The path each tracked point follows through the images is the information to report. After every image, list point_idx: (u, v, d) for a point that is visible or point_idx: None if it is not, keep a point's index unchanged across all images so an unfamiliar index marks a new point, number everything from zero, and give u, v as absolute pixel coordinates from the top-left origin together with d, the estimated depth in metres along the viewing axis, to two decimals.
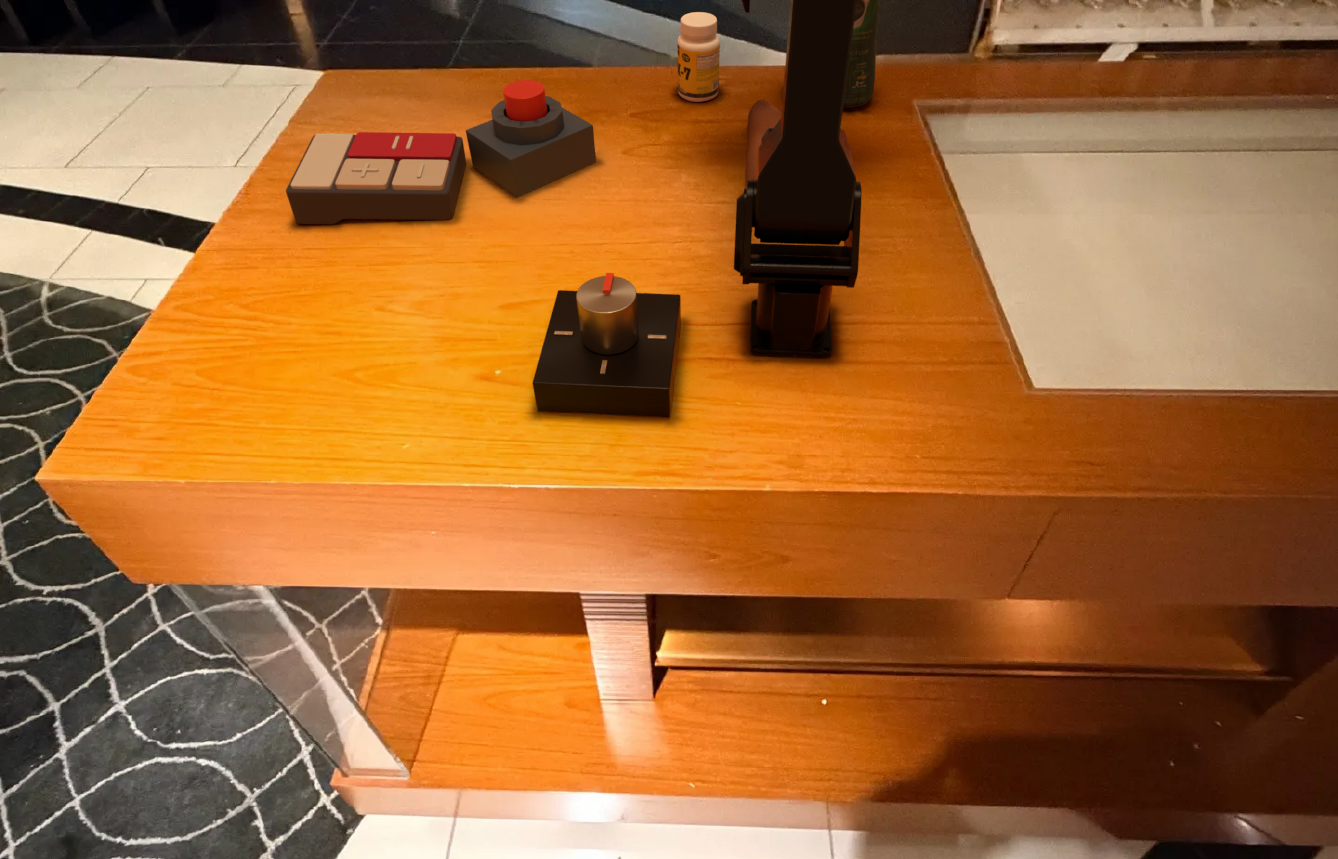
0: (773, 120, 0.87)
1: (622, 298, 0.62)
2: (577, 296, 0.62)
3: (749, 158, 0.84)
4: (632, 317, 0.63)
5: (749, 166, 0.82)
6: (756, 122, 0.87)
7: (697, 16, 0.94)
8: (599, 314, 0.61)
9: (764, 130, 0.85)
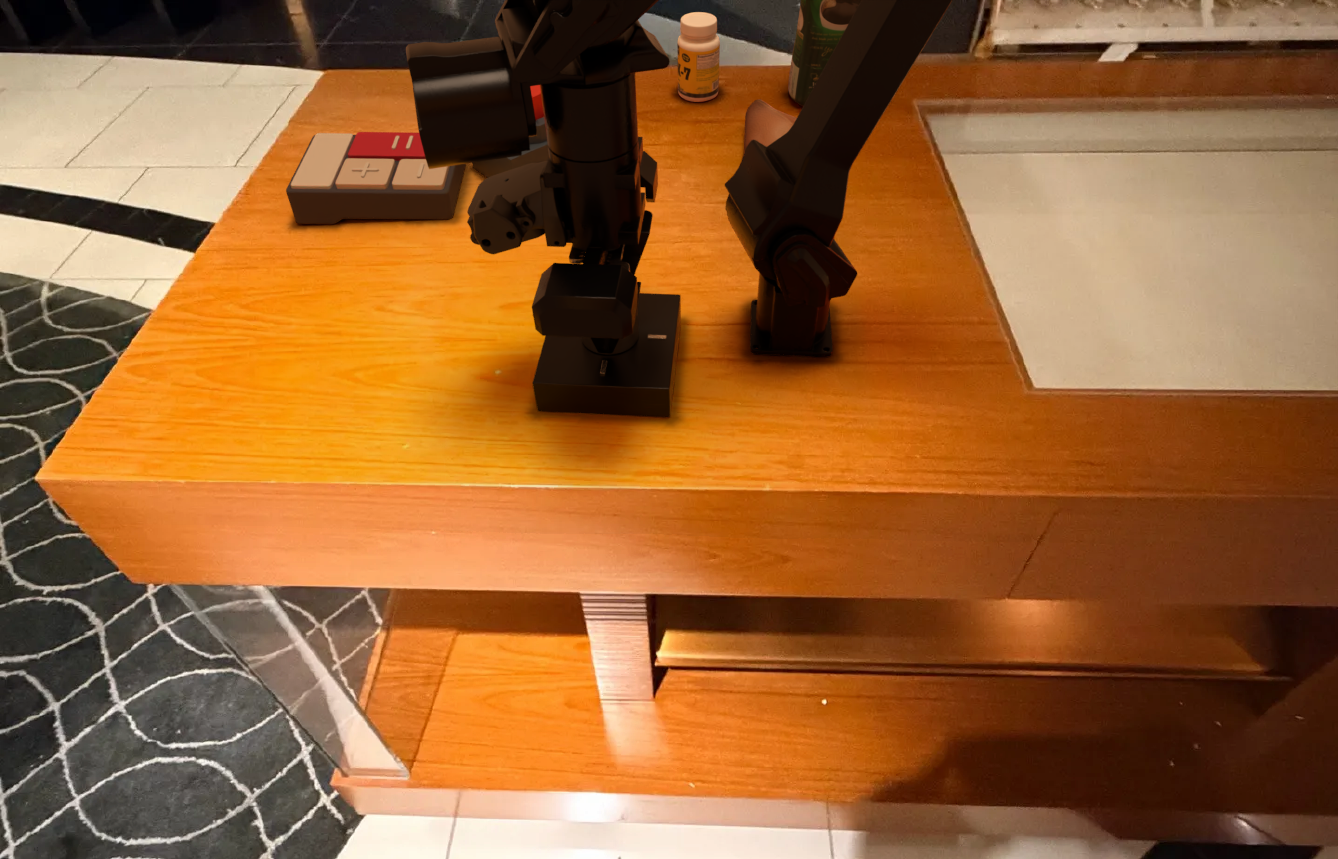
0: (771, 119, 0.87)
1: None
2: None
3: None
4: None
5: None
6: (753, 122, 0.87)
7: (697, 16, 0.94)
8: None
9: (762, 130, 0.85)
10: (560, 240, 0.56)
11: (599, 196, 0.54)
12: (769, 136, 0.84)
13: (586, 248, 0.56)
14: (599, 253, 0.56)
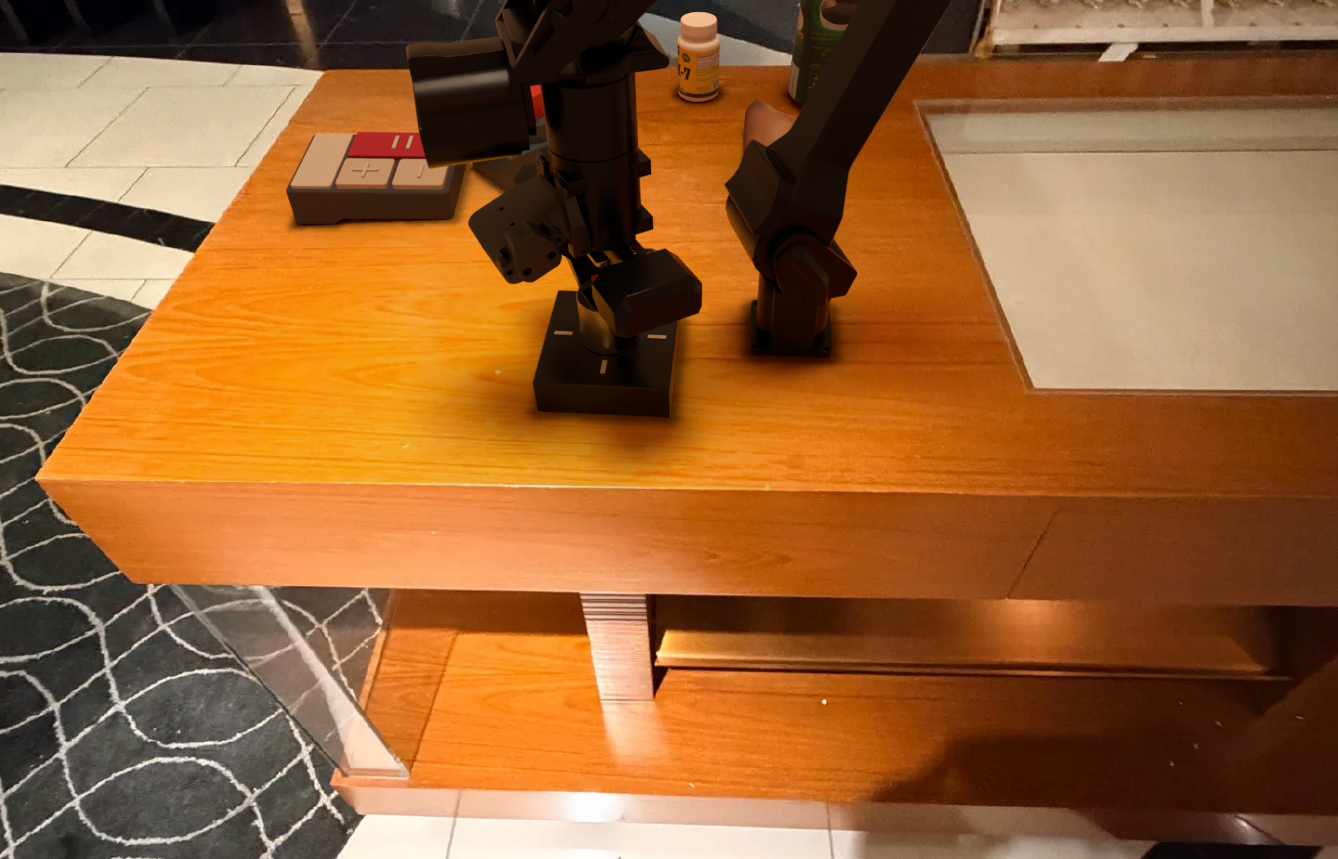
0: (770, 120, 0.87)
1: None
2: (582, 305, 0.62)
3: None
4: None
5: None
6: (753, 123, 0.87)
7: (697, 16, 0.94)
8: None
9: (761, 130, 0.85)
10: (587, 247, 0.55)
11: (622, 191, 0.54)
12: (768, 136, 0.84)
13: (611, 247, 0.56)
14: (627, 247, 0.56)
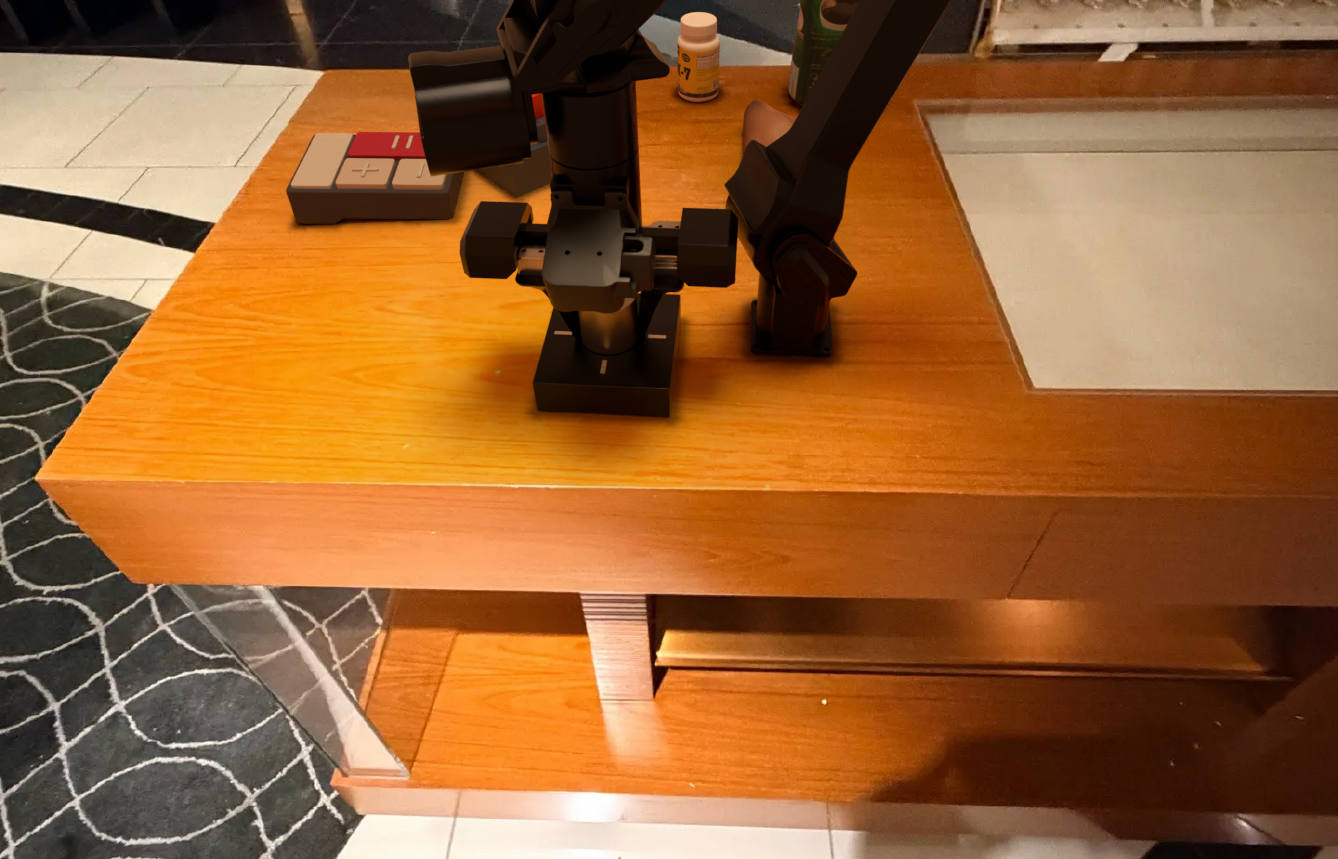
0: (769, 119, 0.87)
1: None
2: None
3: None
4: None
5: None
6: (752, 123, 0.87)
7: (697, 16, 0.94)
8: None
9: (760, 130, 0.85)
10: None
11: None
12: (767, 136, 0.84)
13: (642, 235, 0.58)
14: (651, 228, 0.59)
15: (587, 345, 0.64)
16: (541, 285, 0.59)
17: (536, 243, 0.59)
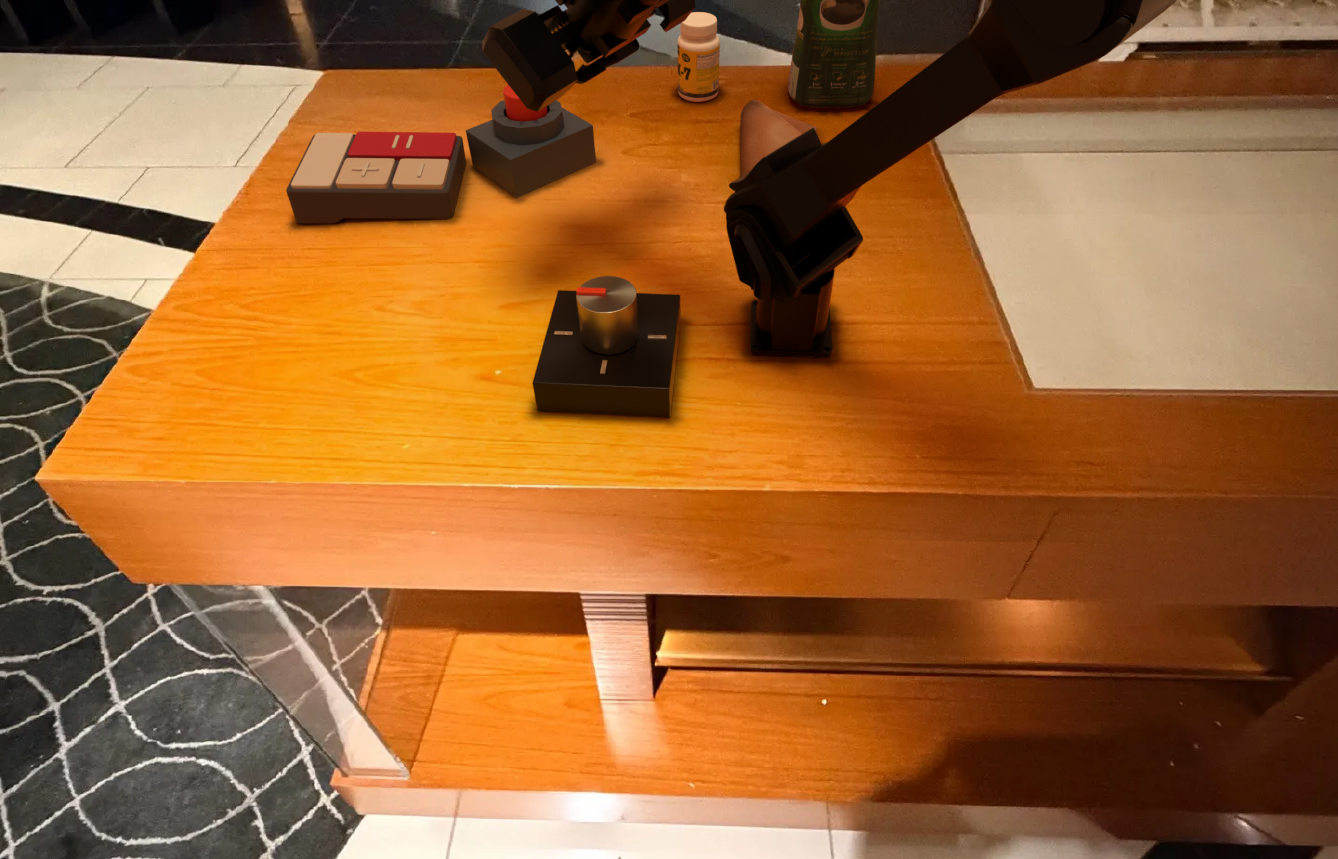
0: (767, 119, 0.87)
1: (614, 283, 0.63)
2: (608, 312, 0.61)
3: (744, 158, 0.83)
4: None
5: (744, 166, 0.82)
6: (749, 123, 0.87)
7: (697, 16, 0.94)
8: (636, 297, 0.62)
9: (758, 130, 0.85)
10: None
11: (602, 3, 0.61)
12: (765, 136, 0.84)
13: (571, 23, 0.64)
14: (574, 36, 0.64)
15: (587, 345, 0.64)
16: None
17: None
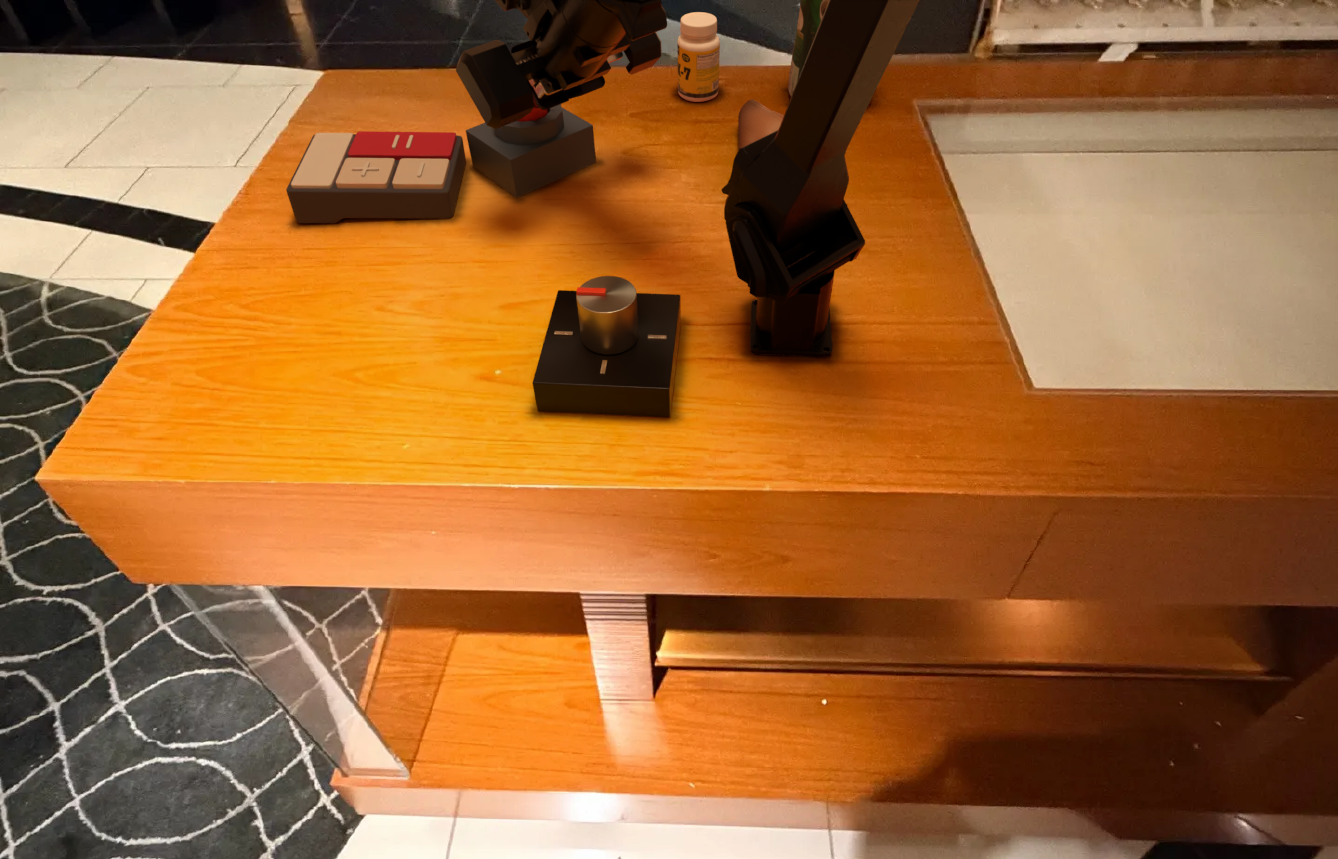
0: (765, 119, 0.87)
1: (614, 283, 0.63)
2: (608, 312, 0.61)
3: None
4: None
5: None
6: (747, 123, 0.87)
7: (697, 16, 0.94)
8: (636, 297, 0.62)
9: (756, 130, 0.85)
10: (530, 35, 0.72)
11: (561, 45, 0.70)
12: (764, 136, 0.84)
13: (538, 57, 0.73)
14: (538, 69, 0.73)
15: (587, 345, 0.64)
16: None
17: None
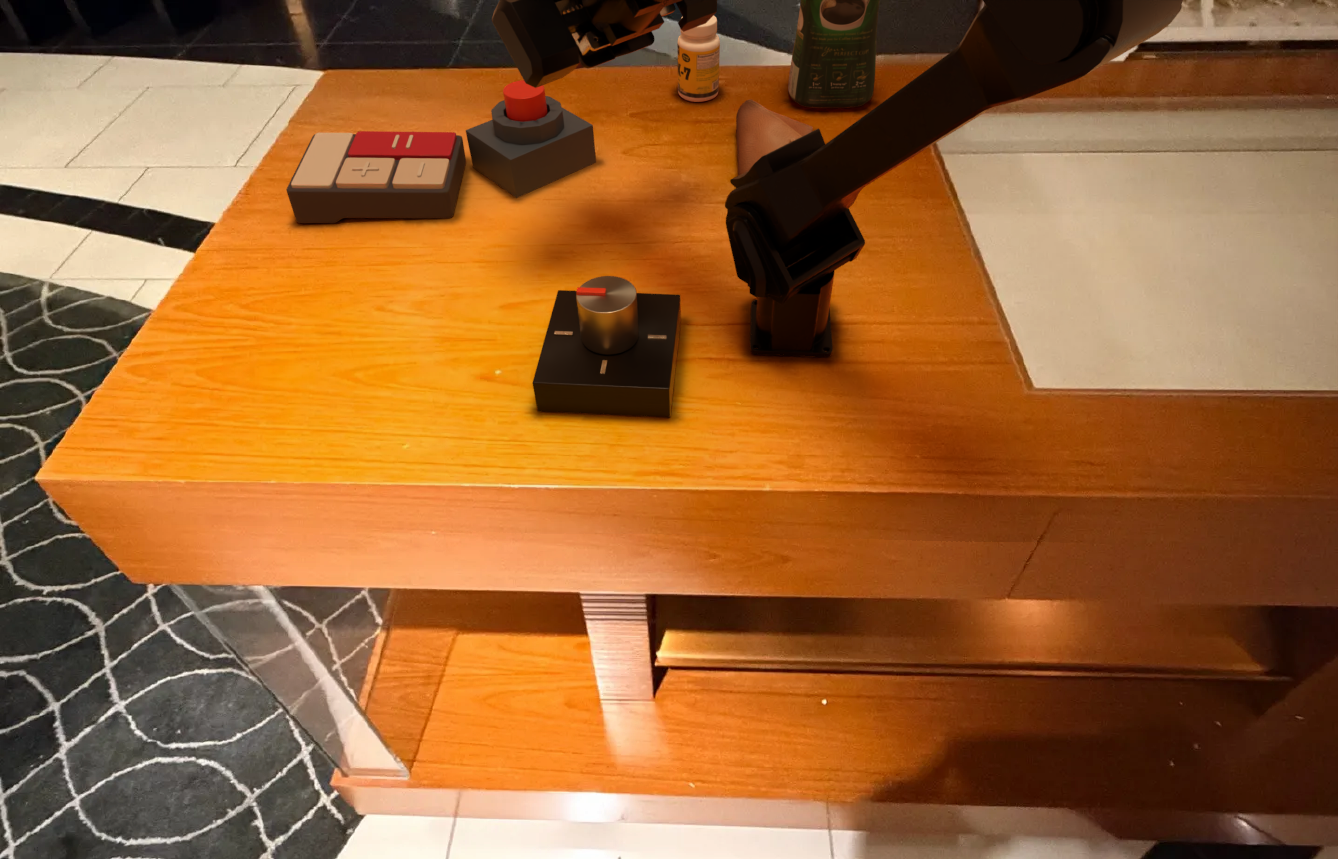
0: (763, 119, 0.87)
1: (614, 283, 0.63)
2: (608, 312, 0.61)
3: (741, 158, 0.83)
4: None
5: (742, 167, 0.82)
6: (746, 123, 0.87)
7: None
8: (636, 297, 0.62)
9: (755, 130, 0.85)
10: None
11: None
12: (762, 136, 0.84)
13: (584, 7, 0.65)
14: (584, 20, 0.65)
15: (587, 345, 0.64)
16: None
17: None
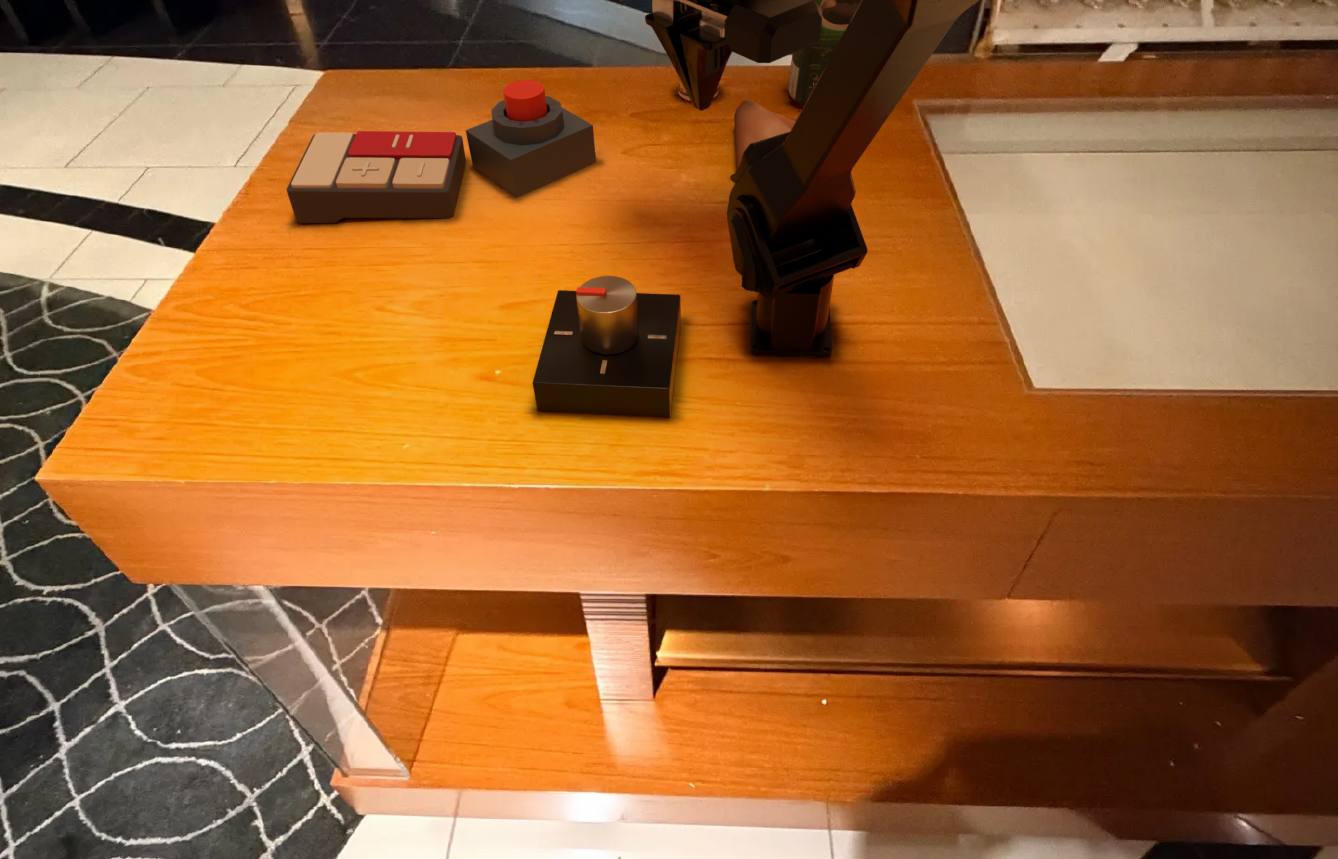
0: (762, 119, 0.87)
1: (614, 283, 0.63)
2: (608, 312, 0.61)
3: (740, 159, 0.83)
4: None
5: None
6: (744, 123, 0.87)
7: None
8: (636, 297, 0.62)
9: (753, 130, 0.85)
10: None
11: None
12: (761, 136, 0.84)
13: None
14: None
15: (587, 345, 0.64)
16: None
17: None
